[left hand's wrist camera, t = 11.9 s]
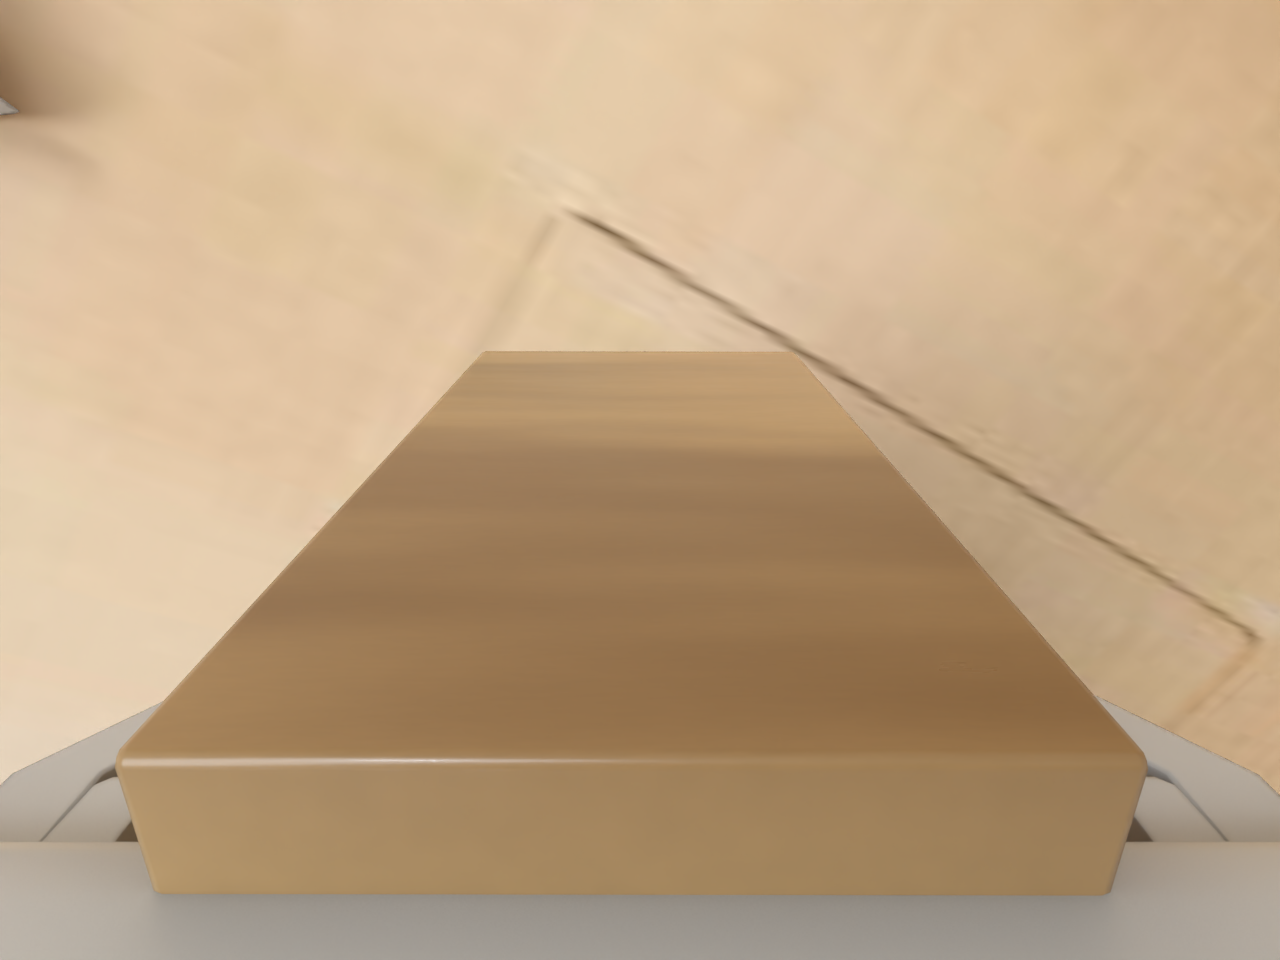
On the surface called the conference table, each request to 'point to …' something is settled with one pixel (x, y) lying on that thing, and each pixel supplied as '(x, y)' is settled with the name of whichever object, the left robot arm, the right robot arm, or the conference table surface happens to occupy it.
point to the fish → (6, 108)
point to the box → (633, 669)
